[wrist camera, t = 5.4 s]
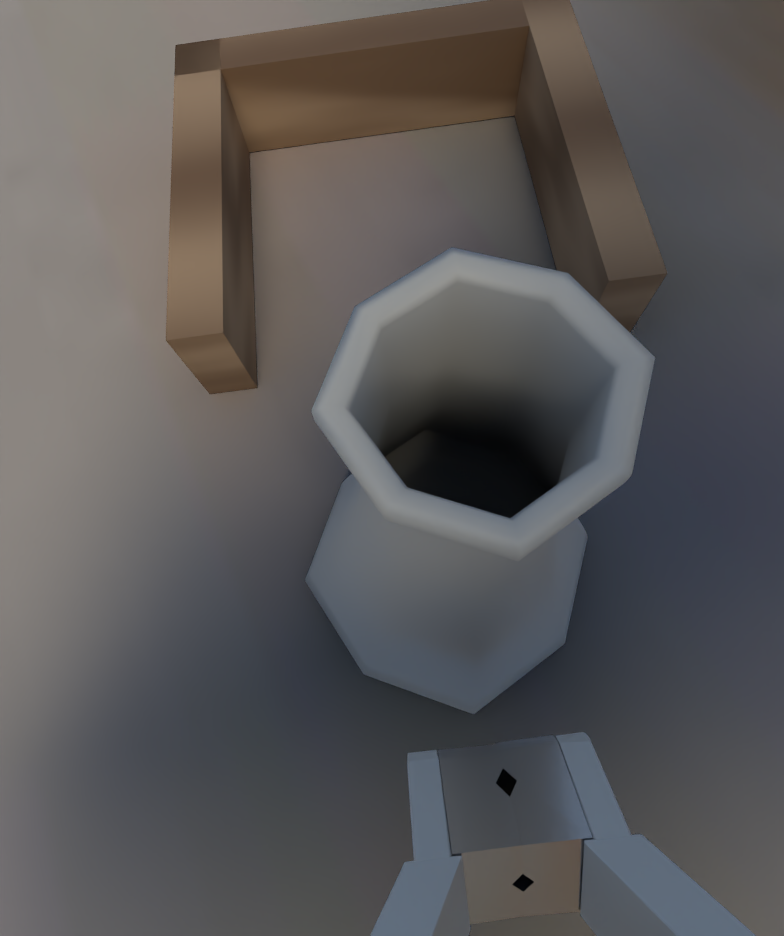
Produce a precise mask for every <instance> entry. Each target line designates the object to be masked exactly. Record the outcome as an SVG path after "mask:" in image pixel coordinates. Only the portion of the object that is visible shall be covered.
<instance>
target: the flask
mask: <svg viewBox="0 0 784 936" xmlns="http://www.w3.org/2000/svg"><path fill="white" fill-rule="evenodd" d="M654 361H655V357H654V356H653V355H652V354H651V353H650V352H649V351H648V350H647V349H646V348H645V347H644V346H643V345H642V344H641V343H640V342H639V341H638V340H637V339H636V338H635V337H634V336H633V335H632V334H631V333H630V332H629V331H628V330H627V329H625V328H624V327H623V326H622V325H621V324H620V323H619V322H618V321H617V320H616V319H615V318H614V317H613V316H612V315H611V314H610V313H609V312H608V311H607V310H606V309H605V308H604V307H603V306H602V305H601V304H600V303H599V302H598V301H597V300H596V299H595V298H594V297H593V296H591V295H590V294H589V293H588V292H587V291H586V290H585V289H584V288H583V287H582V286H581V285H580V284H579V283H578V282H577V281H576V280H575V279H574V278H573V277H572V276H571V275H570V274H569V273H566V272H562V271H557V270H553V269H548V268H544V267H539V266H535V265H530V264H526V263H521V262H516V261H512V260H507V259H503V258H498V257H494V256H489V255H485V254H480V253H476V252H471V251H467V250H462V249H458V248H453V247H451V248H450V249H448V250H446V251H445V252H443V253H441V254H440V255H438V256H436V257H435V258H433V259H432V260H430V261H428V262H427V263H425V264H423V265H422V266H420V267H418V268H417V269H415V270H414V271H412V272H410V273H409V274H407V275H405V276H404V277H402V278H400V279H399V280H397V281H396V282H394V283H392V284H391V285H389V286H387V287H386V288H384V289H382V290H381V291H379V292H378V293H376V294H374V295H373V296H371V297H369V298H368V299H366V300H364V301H363V302H361V303H360V304H358V305H356V306H355V307H354V310H353V312H352V314H351V317H350V319H349V322H348V324H347V326H346V329H345V331H344V334H343V336H342V338H341V341H340V343H339V346H338V348H337V350H336V353H335V355H334V358H333V360H332V362H331V365H330V367H329V370H328V372H327V374H326V377H325V379H324V382H323V384H322V386H321V389H320V391H319V394H318V396H317V398H316V401H315V403H314V406H313V408H312V410H311V412H312V415H313V418H314V421H315V422H316V424H317V425H318V427H319V428H320V429H321V431H322V432H323V434H324V435H325V436H326V438H327V439H328V441H329V442H330V443H331V445H332V446H333V448H334V449H335V450H336V452H337V453H338V455H339V456H340V457H341V459H342V460H343V462H344V463H345V464H346V466H347V467H348V469H349V470H350V471H351V473H352V474H351V475H350V476H349V477H347V478H346V479H345V480H344V481H343V482H342V484H341V486H340V489H339V491H338V494H337V497H336V499H335V502H334V505H333V507H332V510H331V513H330V515H329V518H328V520H327V523H326V526H325V528H324V531H323V534H322V536H321V539H320V542H319V544H318V547H317V550H316V552H315V555H314V557H313V560H312V563H311V565H310V568H309V571H308V573H307V576H306V579H305V582H306V583H307V585H308V586H309V588H310V590H311V591H312V593H313V594H314V596H315V598H316V599H317V601H318V602H319V604H320V606H321V607H322V609H323V610H324V612H325V614H326V615H327V617H328V618H329V620H330V622H331V623H332V625H333V626H334V628H335V630H336V631H337V633H338V634H339V636H340V638H341V639H342V641H343V642H344V644H345V646H346V647H347V649H348V650H349V652H350V654H351V655H352V657H353V658H354V660H355V662H356V663H357V665H358V666H359V668H360V670H361V671H362V673H363V674H364V675H366V676H369V677H372V678H375V679H377V680H380V681H383V682H386V683H388V684H391V685H394V686H397V687H399V688H402V689H405V690H408V691H411V692H413V693H416V694H419V695H422V696H424V697H427V698H430V699H433V700H435V701H438V702H441V703H444V704H446V705H449V706H452V707H455V708H457V709H460V710H463V711H466V712H468V713H471V714H475V713H476V712H478V711H479V710H480V709H481V708H483V707H484V706H485V705H487V704H488V703H489V702H491V701H492V700H493V699H494V698H496V697H497V696H498V695H500V694H501V693H502V692H503V691H505V690H506V689H507V688H509V687H510V686H511V685H512V684H514V683H515V682H516V681H518V680H519V679H520V678H521V677H523V676H524V675H525V674H527V673H528V672H529V671H530V670H532V669H533V668H534V667H536V666H537V665H538V664H539V663H541V662H542V661H543V660H545V659H546V658H547V657H548V656H550V655H551V654H552V653H554V652H555V651H556V650H557V649H559V648H560V647H561V646H563V645H564V644H565V640H566V635H567V631H568V626H569V622H570V617H571V613H572V608H573V603H574V599H575V594H576V590H577V585H578V580H579V576H580V571H581V567H582V562H583V557H584V553H585V548H586V544H587V539H588V536H587V533H586V531H585V529H584V527H583V525H582V524H581V522H580V520H579V519H578V517H579V516H581V515H582V514H583V513H585V512H586V511H587V510H589V509H590V508H591V507H593V506H594V505H596V504H597V503H598V502H600V501H601V500H602V499H604V498H605V497H606V496H608V495H609V494H610V493H612V492H613V491H615V490H616V489H617V488H619V487H620V486H621V485H623V484H624V483H625V482H626V481H627V480H628V479H629V477H630V476H631V475H632V472H633V467H634V462H635V457H636V452H637V447H638V442H639V437H640V432H641V427H642V422H643V417H644V412H645V406H646V401H647V396H648V391H649V386H650V381H651V376H652V371H653V366H654Z"/></svg>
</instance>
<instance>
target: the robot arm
mask: <svg viewBox="0 0 784 936" xmlns="http://www.w3.org/2000/svg"><path fill="white" fill-rule="evenodd" d="M438 755H439V759H438ZM439 764H440V766H439ZM407 770H408V784H409V798H410V812H411V826H412V841H413V855H414V860H413V861H407V862H404V864H403V866H402V869H401V871H400V873H399V875H398V877H397V879H396V881H395V884H394V886H393V888H392V890H391V892H390V894H389V896H388V899H387V901H386V903H385V905H384V907H383V909H382V911H381V914H380V916H379V918H378V920H377V922H376V924H375V926H374V929H373V931H372V933H371V935H370V936H469V933H470V930H471V928H470V925H471V924H477V923H484V922H491V921H497V920H504V919H511V918H517V917H525V916H536V915H548V914H560V913H572V912H580V916H581V917H582V918H583V919H584V921H585V922H586V923H587V924H588V926H589V927H590V928H591V929H592V931H593V932H594V933H595V934H596V936H756V935H755V934H754V933H752V932H751V931H750V930H749V929H748V928H747V927H746V926H745V925H743V924H742V923H741V922H740V921H739V920H738V919H737V918H736V917H734V916H733V915H732V914H731V913H730V912H729V911H728V910H727V909H725V908H724V907H723V906H722V905H721V904H720V903H719V902H718V901H716V900H715V899H714V898H713V897H712V896H711V895H710V894H709V893H707V892H706V891H705V890H704V889H703V888H702V887H701V886H699V885H698V884H697V883H696V882H695V881H694V880H693V879H692V878H690V877H689V876H688V875H687V874H686V873H685V872H684V871H683V870H681V869H680V868H679V867H678V866H677V865H676V864H675V863H674V862H672V861H671V860H670V859H669V858H668V857H667V856H666V855H665V854H663V853H662V852H661V851H660V850H659V849H658V848H657V847H656V846H654V845H653V844H652V843H651V842H650V841H649V840H648V839H647V838H645V837H644V836H643V835H642V834H633V835H631V832H630V830H629V828H628V825H627V823H626V821H625V818H624V816H623V814H622V811H621V809H620V807H619V804H618V802H617V800H616V798H615V795H614V793H613V791H612V788H611V786H610V784H609V781H608V779H607V777H606V774H605V772H604V770H603V767H602V765H601V763H600V760H599V758H598V756H597V753H596V751H595V749H594V746H593V744H592V742H591V740H590V738H589V737H588V735H587V734H586V733H585V732H577V733H570V734H563V735H557V736H553V735H548V736H541V737H533V738H526V739H519V740H512V741H505V742H498V743H495V744H489V745H480V746H470V747H460V748H450V749H441V750H438V753H437V750H429V751H421V752H413V753H408V757H407ZM440 771H441V774H440ZM441 779H442V781H441ZM442 787H443V788H442ZM443 794H444V795H443Z"/></svg>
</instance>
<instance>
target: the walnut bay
mask: <svg viewBox="0 0 784 936" xmlns="http://www.w3.org/2000/svg"><path fill="white" fill-rule="evenodd" d="M508 116H515V119H516V122H517V126H518V130H519V133H520V137H521V141H522V144H523V148H524V152H525V155H526V159H527V163H528V166H529V170H530V174H531V177H532V181H533V185H534V189H535V192H536V196H537V200H538V203H539V207H540V211H541V214H542V218H543V222H544V225H545V229H546V233H547V236H548V240H549V244H550V247H551V251H552V255H553V258H554V262H555V266H556V269H557V271H562V272H566V273H569V274H570V275H571V276H572V277H573V278H574V279H575V280H576V281H577V282H578V283H579V284H580V285H581V286H582V287H583V288H584V289H585V290H586V291H587V292H588V293H589V294H590V295H591V296H593V297H594V298H595V299H596V300H597V301H598V302H599V303H600V304H601V305H602V306H603V307H604V308H605V309H606V310H607V311H608V312H609V313H610V314H611V315H612V316H613V317H614V318H615V319H616V320H617V321H618V322H619V323H620V324H621V325H622V326H623V327H624V328H625V329H627V330H628V331H629V332H631V330H632V329H633V327H634V325H635V324H636V322H637V321H638V319H639V318H640V316H641V314H642V313H643V311H644V310H645V308H646V306H647V305H648V303H649V302H650V300H651V299H652V297H653V295H654V294H655V292H656V291H657V289H658V287H659V286H660V284H661V283H662V281H663V280H664V278H665V276H666V275H667V270H666V268H665V265H664V262H663V259H662V256H661V254H660V251H659V248H658V245H657V242H656V240H655V237H654V234H653V231H652V229H651V226H650V223H649V220H648V217H647V215H646V212H645V209H644V206H643V203H642V201H641V198H640V195H639V192H638V189H637V187H636V184H635V181H634V178H633V176H632V173H631V170H630V167H629V164H628V162H627V159H626V156H625V153H624V150H623V148H622V145H621V142H620V139H619V137H618V134H617V131H616V128H615V125H614V123H613V120H612V117H611V114H610V111H609V109H608V106H607V103H606V100H605V97H604V95H603V92H602V89H601V86H600V84H599V81H598V78H597V75H596V72H595V70H594V67H593V64H592V61H591V58H590V56H589V53H588V50H587V47H586V45H585V42H584V39H583V36H582V33H581V31H580V28H579V25H578V22H577V19H576V17H575V14H574V11H573V8H572V5H571V3H570V0H488V1H481V2H474V3H467V4H460V5H453V6H446V7H439V8H432V9H425V10H418V11H411V12H404V13H397V14H390V15H383V16H376V17H369V18H362V19H355V20H348V21H341V22H334V23H327V24H320V25H313V26H306V27H299V28H292V29H285V30H278V31H271V32H264V33H257V34H250V35H243V36H236V37H229V38H222V39H215V40H207V41H200V42H193V43H186V44H179V45H176V48H175V79H174V109H173V139H172V170H171V200H170V231H169V261H168V291H167V322H166V341H167V342H168V344H169V345H170V346H171V347H172V348H173V350H174V351H175V352H176V353H177V355H178V356H179V357H180V358H181V359H182V361H183V362H184V363H185V364H186V366H187V367H188V368H189V369H190V370H191V372H192V373H193V374H194V375H195V377H196V378H197V379H198V380H199V382H200V383H201V384H202V385H203V386H204V388H205V389H206V390H207V391H208V393H209V394H215V393H222V392H230V391H237V390H245V389H252V388H257V364H256V335H255V305H254V276H253V247H252V217H251V188H250V158H249V152H256V151H263V150H271V149H278V148H285V147H292V146H299V145H307V144H314V143H321V142H328V141H335V140H342V139H350V138H357V137H364V136H371V135H378V134H386V133H393V132H400V131H407V130H414V129H422V128H429V127H436V126H443V125H450V124H458V123H465V122H472V121H479V120H486V119H494V118H501V117H508Z"/></svg>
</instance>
